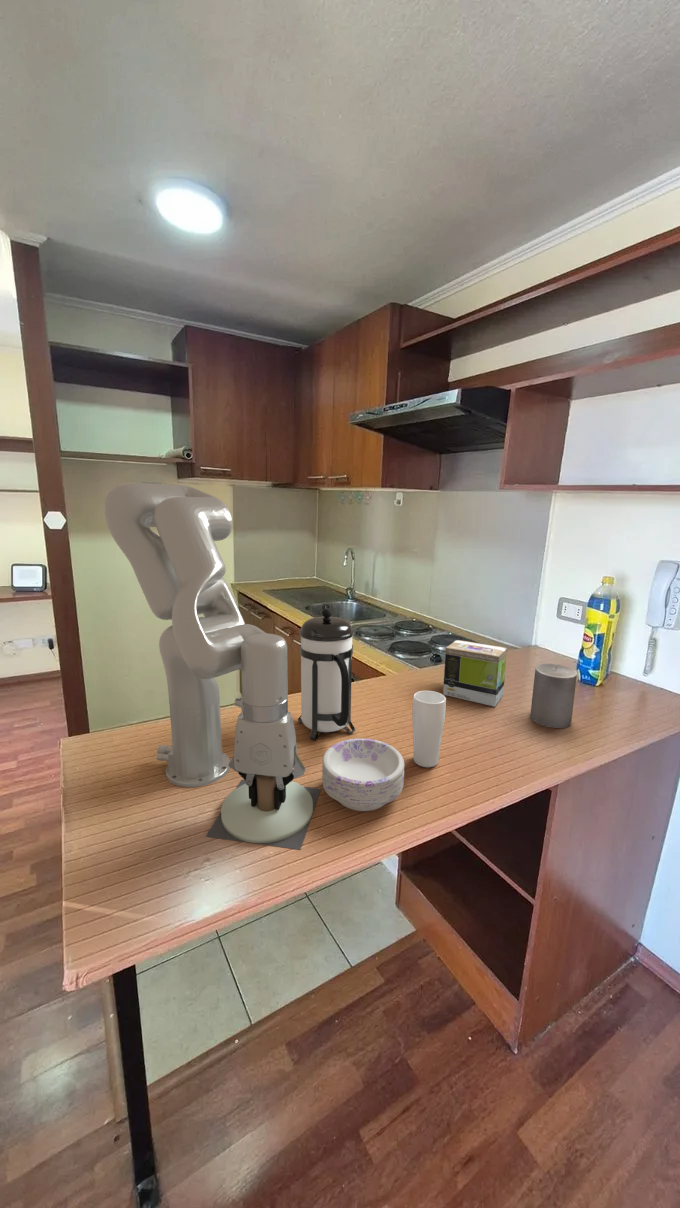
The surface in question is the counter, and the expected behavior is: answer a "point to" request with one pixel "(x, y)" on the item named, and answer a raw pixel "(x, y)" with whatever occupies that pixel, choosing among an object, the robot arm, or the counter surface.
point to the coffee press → (326, 674)
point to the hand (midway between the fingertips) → (267, 802)
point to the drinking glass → (427, 727)
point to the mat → (291, 842)
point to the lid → (266, 812)
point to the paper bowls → (363, 773)
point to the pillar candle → (553, 695)
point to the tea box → (475, 672)
